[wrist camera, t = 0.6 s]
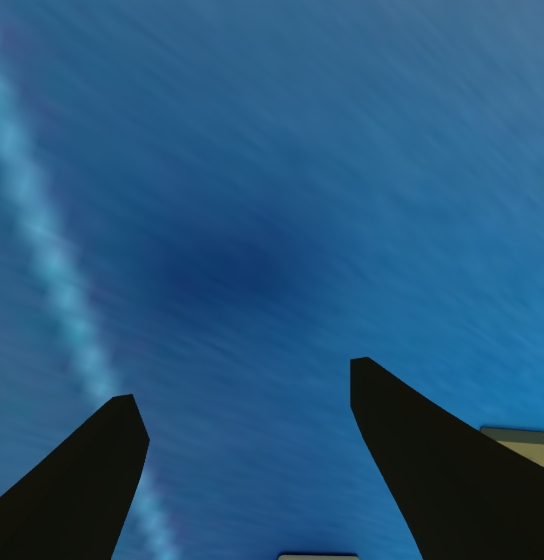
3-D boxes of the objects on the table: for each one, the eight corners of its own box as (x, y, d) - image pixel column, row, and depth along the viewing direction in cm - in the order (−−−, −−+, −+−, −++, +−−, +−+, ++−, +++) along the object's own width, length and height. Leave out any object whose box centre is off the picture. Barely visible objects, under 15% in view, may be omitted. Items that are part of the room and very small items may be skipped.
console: (529, 578, 28) (551, 607, 25) (426, 577, 26) (441, 607, 24) (596, 436, 24) (628, 456, 22) (481, 427, 23) (504, 447, 21)
